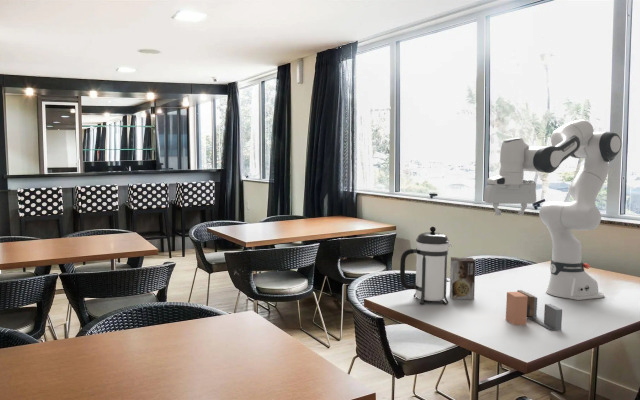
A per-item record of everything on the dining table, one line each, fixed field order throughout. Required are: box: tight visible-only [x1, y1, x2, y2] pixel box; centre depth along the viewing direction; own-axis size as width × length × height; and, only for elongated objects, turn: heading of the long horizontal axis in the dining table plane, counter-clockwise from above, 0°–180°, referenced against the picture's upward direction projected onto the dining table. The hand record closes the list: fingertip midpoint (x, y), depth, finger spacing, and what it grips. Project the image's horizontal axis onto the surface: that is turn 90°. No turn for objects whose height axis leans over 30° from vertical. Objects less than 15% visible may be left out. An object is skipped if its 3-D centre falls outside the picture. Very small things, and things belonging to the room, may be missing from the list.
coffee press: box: [399, 226, 452, 306], centre depth 207 cm, size 17×16×30 cm
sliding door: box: [516, 289, 536, 317], centre depth 192 cm, size 9×9×7 cm
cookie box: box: [449, 256, 476, 300], centre depth 214 cm, size 9×6×16 cm
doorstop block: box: [505, 291, 528, 326], centre depth 184 cm, size 4×6×10 cm
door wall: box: [525, 291, 563, 331], centre depth 186 cm, size 4×22×7 cm, turn 9°
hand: (509, 215), depth 204 cm, fingers open, 8 cm apart
